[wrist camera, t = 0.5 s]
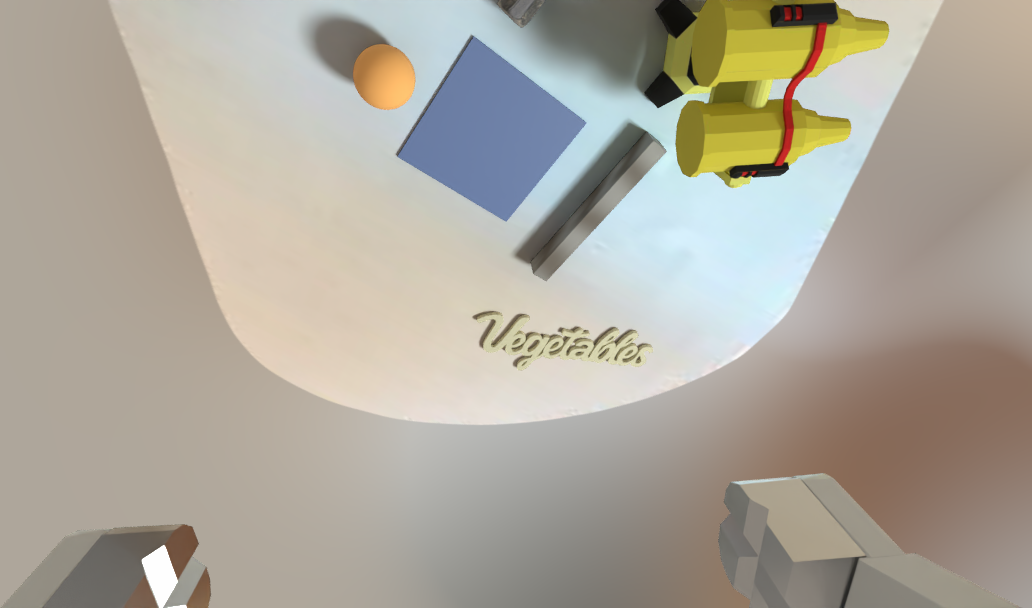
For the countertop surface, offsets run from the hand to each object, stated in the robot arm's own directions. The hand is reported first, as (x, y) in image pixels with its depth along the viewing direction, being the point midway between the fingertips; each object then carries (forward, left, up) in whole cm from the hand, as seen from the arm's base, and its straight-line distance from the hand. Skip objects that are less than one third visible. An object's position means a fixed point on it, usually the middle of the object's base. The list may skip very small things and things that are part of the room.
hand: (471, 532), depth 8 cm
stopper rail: (+9, +25, -49) cm, 56 cm away
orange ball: (+9, -1, -47) cm, 48 cm away
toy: (-11, +24, -49) cm, 56 cm away
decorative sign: (+28, +37, -50) cm, 68 cm away
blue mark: (+9, +11, -49) cm, 51 cm away
